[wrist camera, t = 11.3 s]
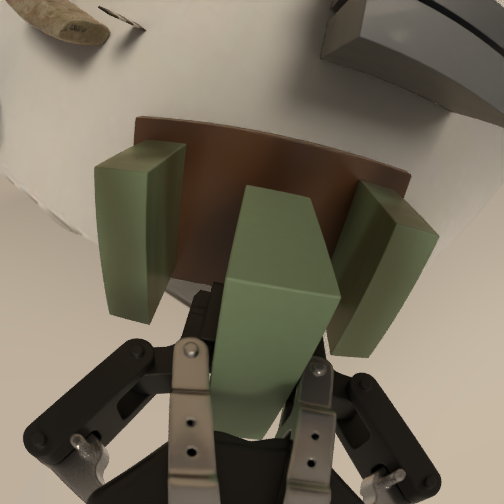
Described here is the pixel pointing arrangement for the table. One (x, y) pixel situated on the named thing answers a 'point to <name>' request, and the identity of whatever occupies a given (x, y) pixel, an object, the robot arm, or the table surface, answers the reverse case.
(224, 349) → the green book
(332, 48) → the grey grooved block
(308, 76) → the table surface
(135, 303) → the book rack
